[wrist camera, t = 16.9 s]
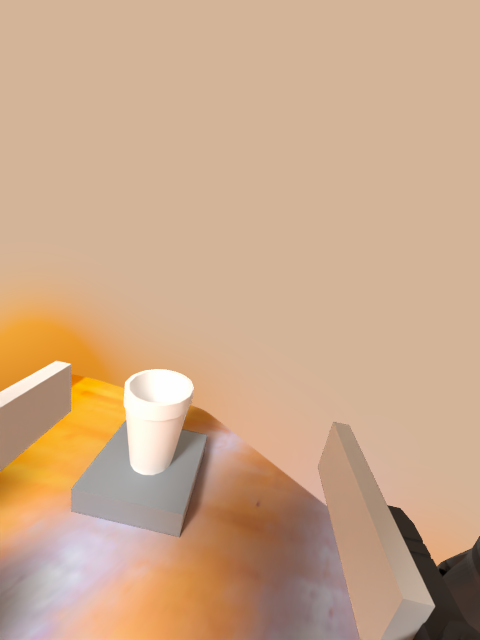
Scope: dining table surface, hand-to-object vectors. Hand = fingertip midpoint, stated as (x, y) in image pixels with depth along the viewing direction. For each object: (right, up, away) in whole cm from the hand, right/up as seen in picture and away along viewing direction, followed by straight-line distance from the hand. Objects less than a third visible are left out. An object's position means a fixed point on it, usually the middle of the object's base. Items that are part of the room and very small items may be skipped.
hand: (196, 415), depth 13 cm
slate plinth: (-13, -21, +30) cm, 38 cm away
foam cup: (-12, -17, +28) cm, 35 cm away
